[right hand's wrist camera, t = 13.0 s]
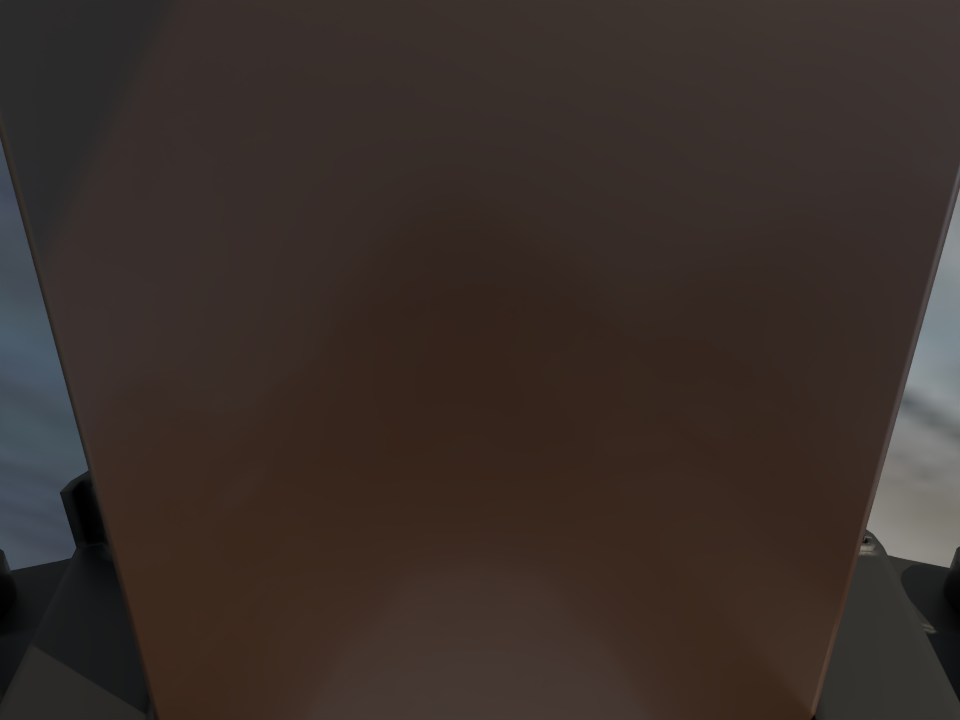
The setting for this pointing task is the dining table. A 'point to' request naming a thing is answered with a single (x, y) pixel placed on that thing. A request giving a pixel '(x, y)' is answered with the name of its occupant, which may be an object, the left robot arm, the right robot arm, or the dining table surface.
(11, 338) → the dining table surface
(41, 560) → the dining table surface
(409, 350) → the walnut box
